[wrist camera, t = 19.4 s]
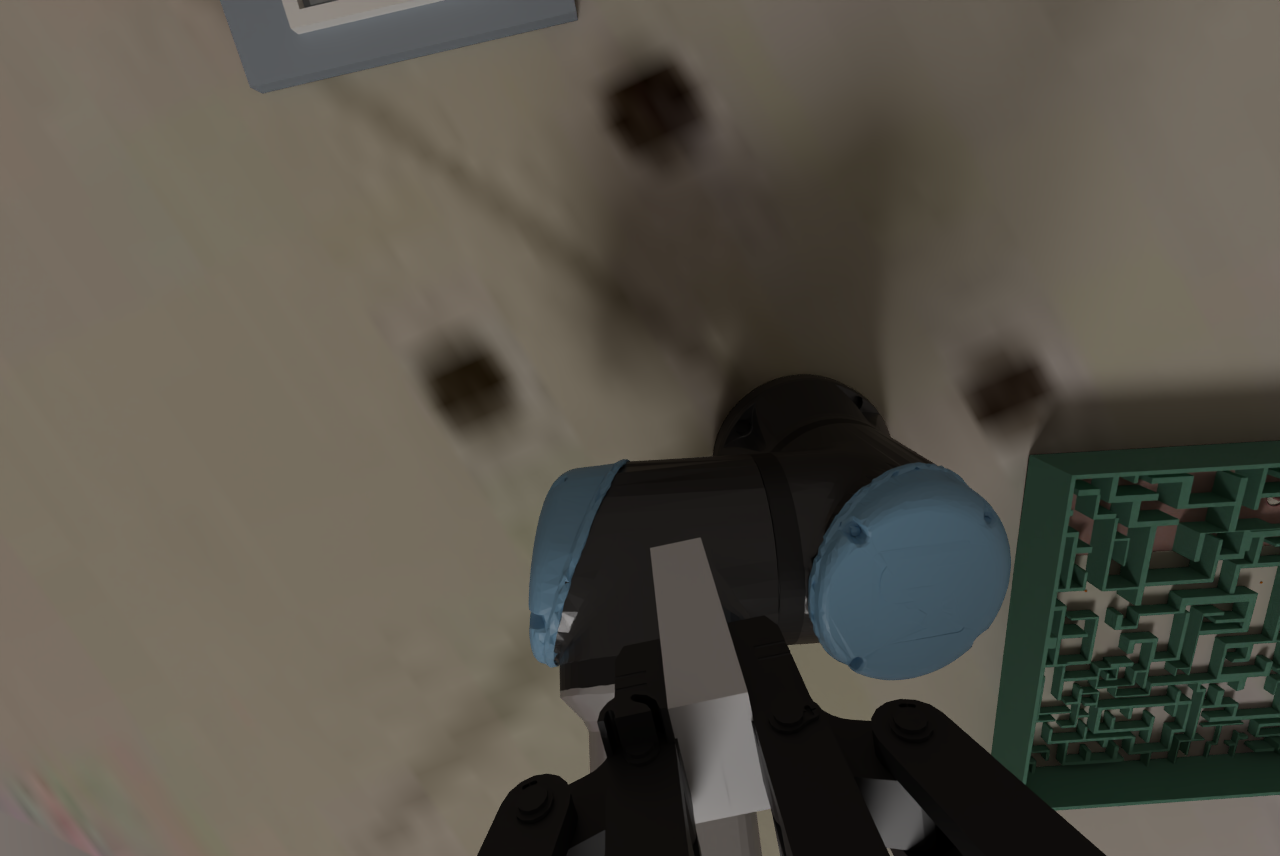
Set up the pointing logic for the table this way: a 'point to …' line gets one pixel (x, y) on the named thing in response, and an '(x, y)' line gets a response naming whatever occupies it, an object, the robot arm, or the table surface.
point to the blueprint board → (369, 32)
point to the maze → (1128, 533)
